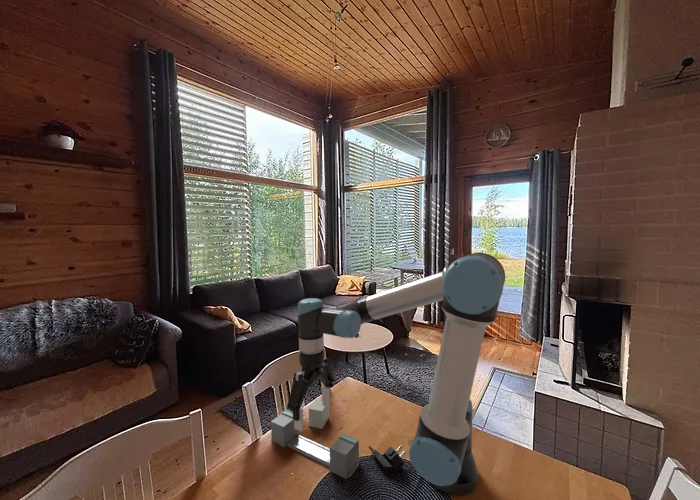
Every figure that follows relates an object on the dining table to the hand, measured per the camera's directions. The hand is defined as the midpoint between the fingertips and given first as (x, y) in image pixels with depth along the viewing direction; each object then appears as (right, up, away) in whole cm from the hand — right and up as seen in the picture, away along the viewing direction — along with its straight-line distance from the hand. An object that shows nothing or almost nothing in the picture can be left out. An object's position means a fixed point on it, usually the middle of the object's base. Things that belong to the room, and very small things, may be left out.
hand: (313, 417), depth 94 cm
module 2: (0, -11, +15) cm, 18 cm away
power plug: (+20, -8, +2) cm, 21 cm away
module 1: (-10, -11, +7) cm, 17 cm away
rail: (0, -11, +1) cm, 11 cm away
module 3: (+10, -12, -5) cm, 16 cm away
